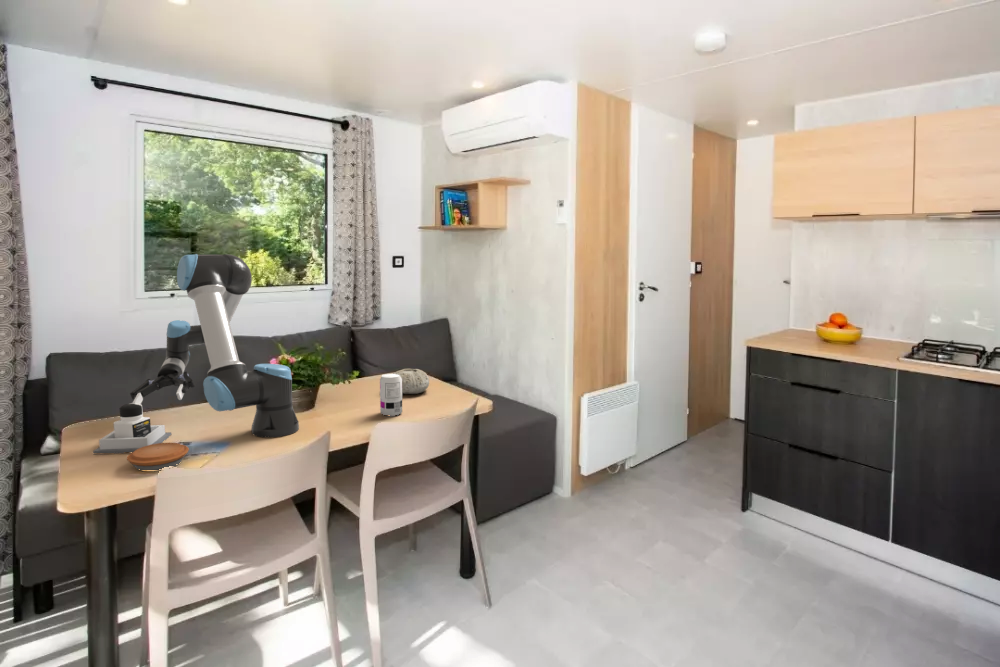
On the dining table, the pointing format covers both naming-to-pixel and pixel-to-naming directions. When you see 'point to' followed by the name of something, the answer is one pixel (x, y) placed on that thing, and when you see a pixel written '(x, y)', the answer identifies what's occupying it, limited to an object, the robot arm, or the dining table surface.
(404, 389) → the grey squat round piece
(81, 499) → the dining table surface
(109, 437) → the dock
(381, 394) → the supplement can
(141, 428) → the medicine bottle
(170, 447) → the pie
